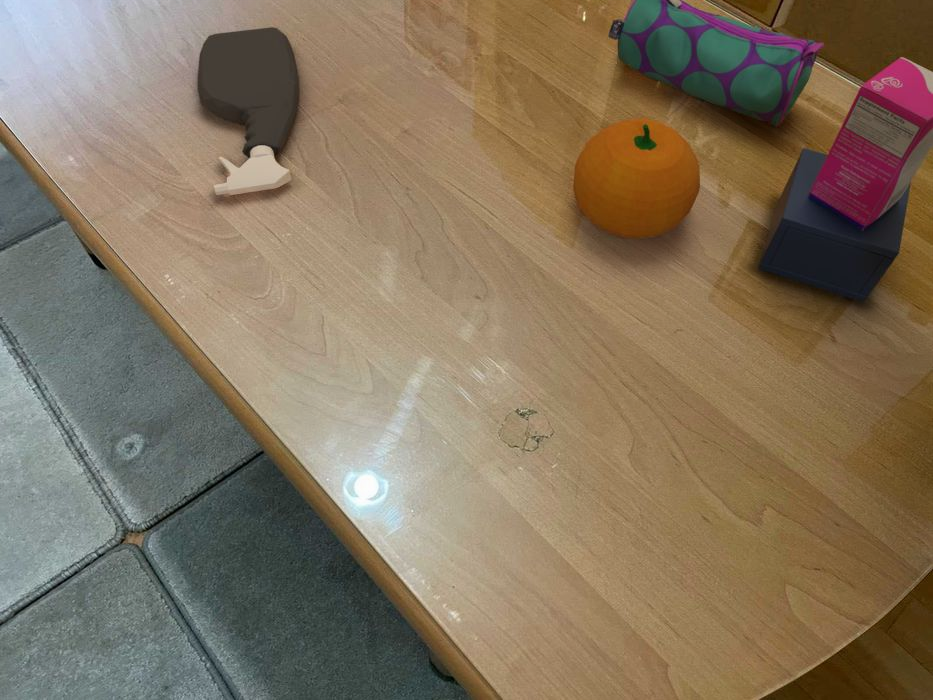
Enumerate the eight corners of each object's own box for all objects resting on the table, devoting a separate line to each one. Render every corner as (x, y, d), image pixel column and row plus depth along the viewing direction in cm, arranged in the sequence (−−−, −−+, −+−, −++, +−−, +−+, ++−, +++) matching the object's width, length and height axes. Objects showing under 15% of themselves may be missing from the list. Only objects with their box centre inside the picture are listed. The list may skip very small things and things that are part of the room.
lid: (800, 154, 70) (803, 147, 69) (907, 184, 68) (912, 177, 67) (779, 224, 65) (782, 217, 64) (894, 259, 62) (899, 252, 62)
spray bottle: (295, 46, 88) (315, 192, 75) (200, 56, 87) (204, 207, 74) (290, 23, 86) (310, 169, 73) (193, 33, 85) (195, 185, 71)
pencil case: (600, 74, 86) (614, -6, 78) (637, 38, 90) (654, -42, 82) (771, 147, 79) (806, 67, 71) (803, 104, 83) (839, 23, 75)
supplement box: (841, 166, 68) (903, 53, 58) (899, 202, 65) (974, 89, 56) (803, 195, 66) (861, 82, 56) (862, 233, 63) (933, 122, 54)
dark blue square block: (777, 201, 74) (799, 156, 70) (877, 231, 72) (907, 186, 67) (757, 268, 69) (779, 224, 65) (863, 302, 67) (894, 259, 62)
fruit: (574, 254, 70) (590, 173, 62) (563, 168, 77) (575, 85, 69) (699, 253, 70) (730, 172, 62) (676, 167, 77) (702, 84, 69)
